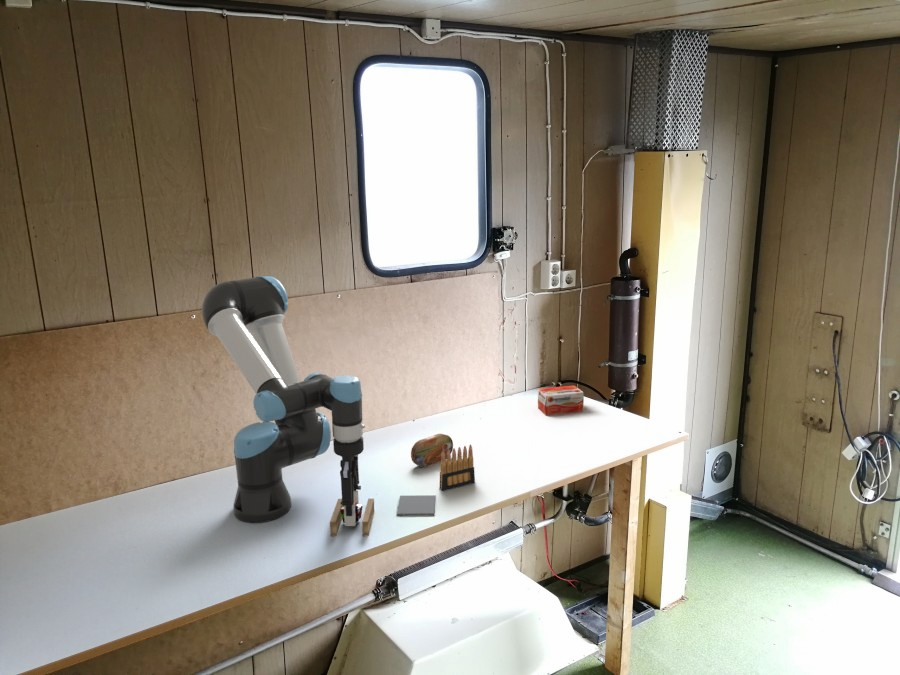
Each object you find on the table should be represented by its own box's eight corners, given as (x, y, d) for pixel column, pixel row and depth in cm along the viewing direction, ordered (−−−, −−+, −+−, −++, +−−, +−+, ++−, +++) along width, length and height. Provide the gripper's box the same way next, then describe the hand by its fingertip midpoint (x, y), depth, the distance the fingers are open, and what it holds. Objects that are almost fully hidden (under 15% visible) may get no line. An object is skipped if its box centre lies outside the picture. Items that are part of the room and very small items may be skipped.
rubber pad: (396, 515, 183) (396, 513, 182) (400, 497, 192) (400, 495, 192) (434, 515, 182) (434, 513, 182) (435, 497, 192) (435, 495, 192)
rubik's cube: (355, 527, 177) (357, 511, 175) (338, 521, 178) (340, 504, 177) (362, 520, 180) (364, 503, 179) (345, 514, 182) (347, 497, 180)
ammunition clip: (442, 491, 196) (441, 452, 193) (439, 488, 197) (438, 450, 194) (475, 483, 200) (474, 444, 197) (472, 480, 202) (471, 442, 199)
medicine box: (545, 416, 251) (545, 395, 249) (537, 408, 258) (537, 388, 256) (583, 412, 254) (584, 391, 252) (574, 404, 262) (575, 384, 260)
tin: (415, 470, 209) (414, 445, 206) (409, 467, 211) (408, 442, 209) (454, 457, 218) (453, 432, 216) (447, 454, 220) (447, 429, 218)
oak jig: (330, 536, 173) (329, 521, 172) (339, 512, 185) (338, 498, 184) (368, 535, 173) (367, 521, 172) (374, 512, 185) (373, 498, 184)
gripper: (357, 452, 164) (361, 538, 170) (367, 422, 181) (370, 501, 188) (326, 452, 164) (331, 538, 170) (339, 422, 182) (343, 501, 188)
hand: (352, 519), depth 179 cm, fingers closed on rubik's cube, 5 cm apart
